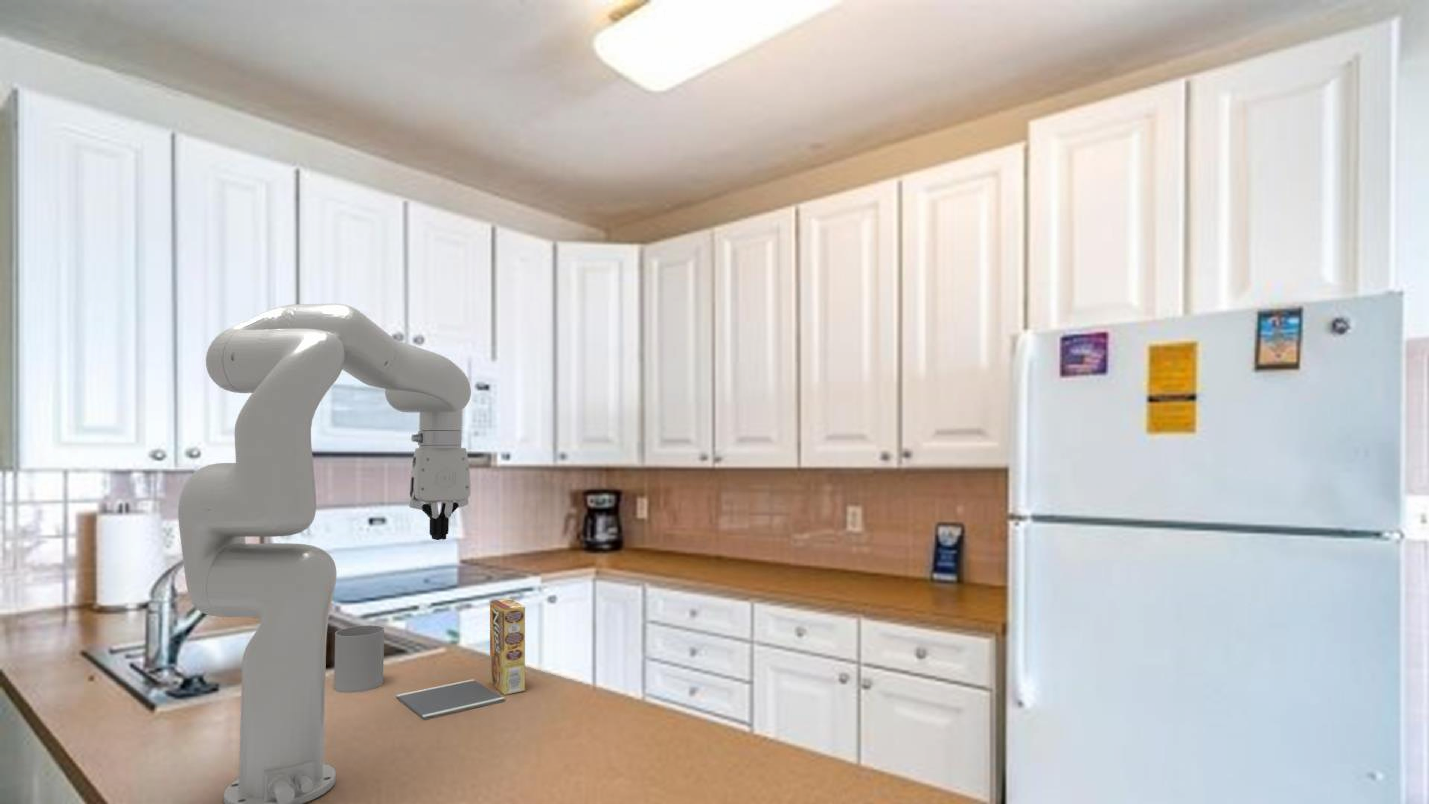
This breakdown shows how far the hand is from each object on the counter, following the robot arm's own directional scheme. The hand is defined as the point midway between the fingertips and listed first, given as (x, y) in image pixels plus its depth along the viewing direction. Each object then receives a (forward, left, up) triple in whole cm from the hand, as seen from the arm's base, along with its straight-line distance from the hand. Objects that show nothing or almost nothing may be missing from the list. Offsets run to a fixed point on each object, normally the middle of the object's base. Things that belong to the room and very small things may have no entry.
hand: (438, 538), depth 142 cm
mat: (-9, +1, -27) cm, 28 cm away
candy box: (-9, -10, -27) cm, 30 cm away
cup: (+10, +11, -27) cm, 31 cm away
